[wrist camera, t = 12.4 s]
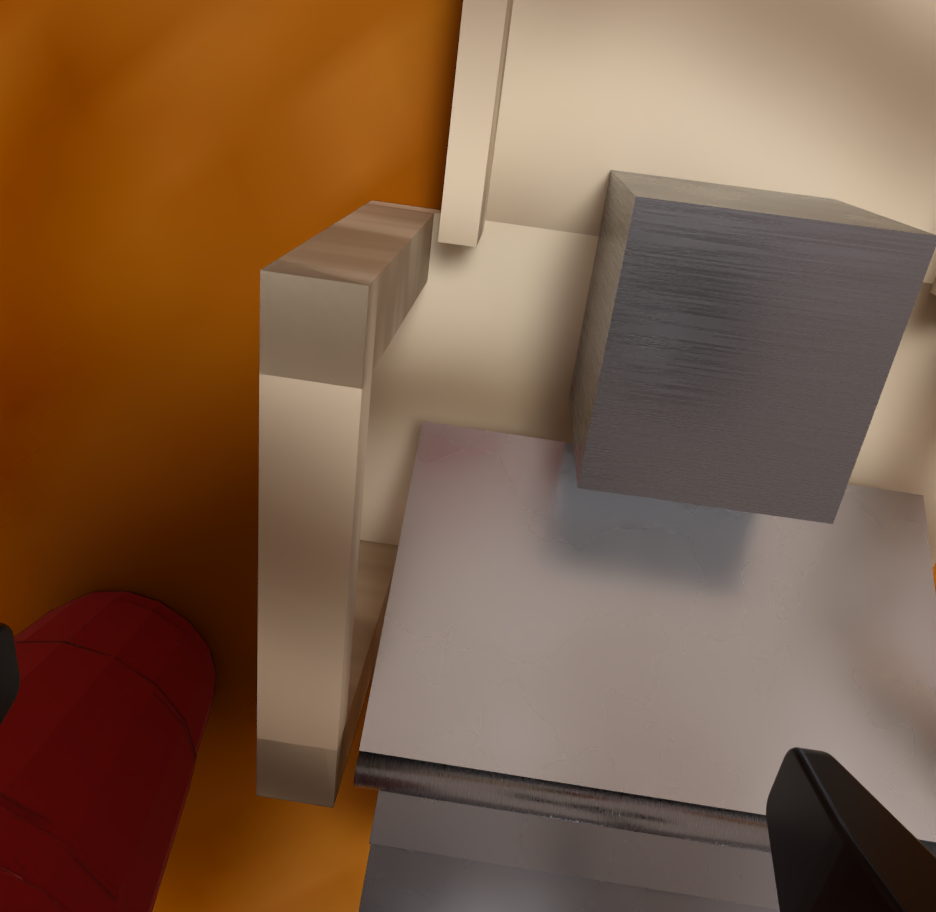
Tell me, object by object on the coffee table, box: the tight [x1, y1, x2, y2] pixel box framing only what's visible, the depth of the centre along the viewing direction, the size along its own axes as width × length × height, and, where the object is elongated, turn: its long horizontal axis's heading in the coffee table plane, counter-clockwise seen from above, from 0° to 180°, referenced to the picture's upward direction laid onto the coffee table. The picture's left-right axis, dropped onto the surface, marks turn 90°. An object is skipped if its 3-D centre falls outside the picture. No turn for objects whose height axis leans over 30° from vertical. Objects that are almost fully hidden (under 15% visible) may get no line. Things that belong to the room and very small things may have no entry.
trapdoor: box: [354, 421, 936, 912], centre depth 18 cm, size 13×12×6 cm
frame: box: [257, 0, 936, 808], centre depth 15 cm, size 21×16×8 cm
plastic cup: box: [0, 591, 216, 912], centre depth 20 cm, size 11×11×12 cm
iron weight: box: [569, 170, 936, 524], centre depth 16 cm, size 5×5×6 cm
